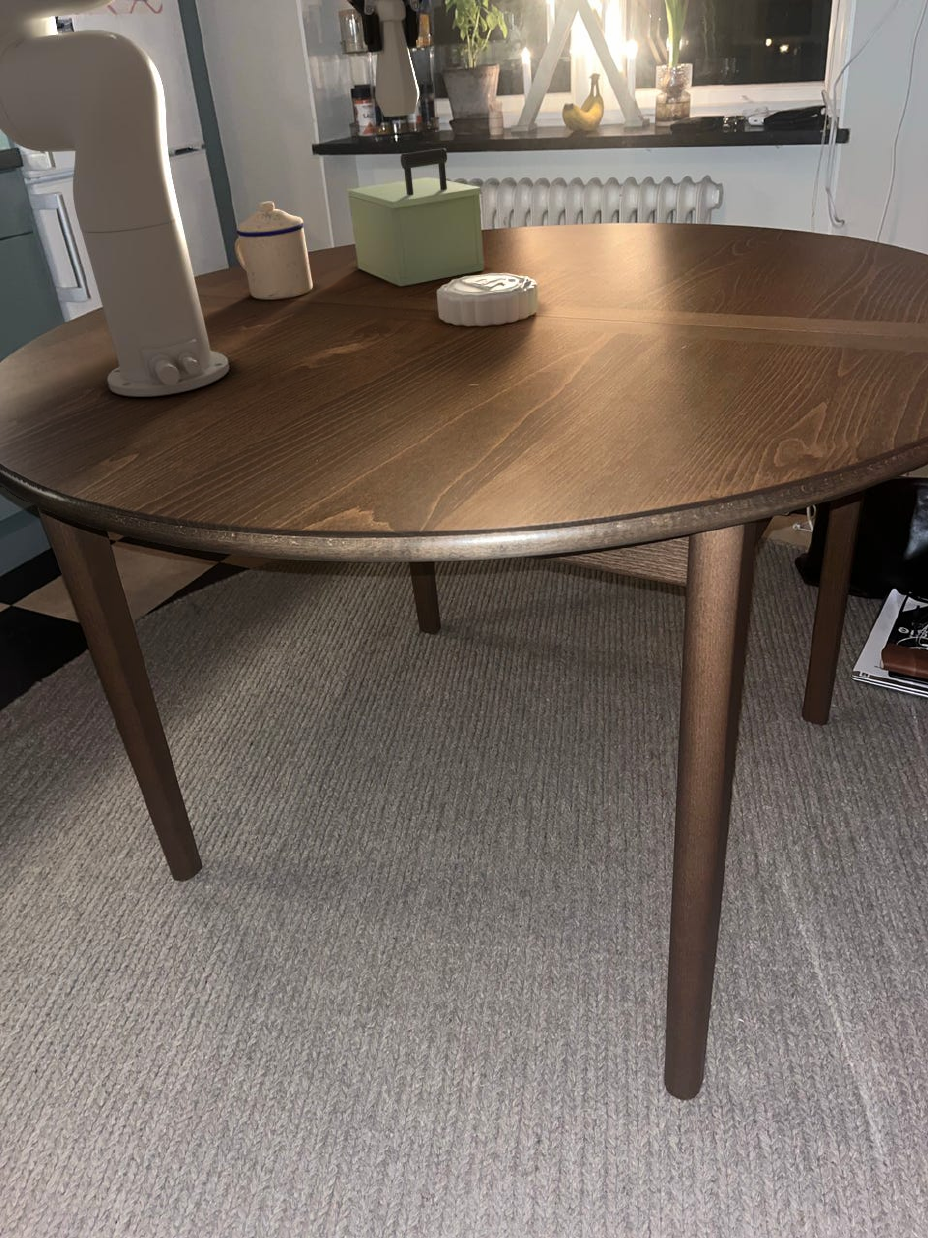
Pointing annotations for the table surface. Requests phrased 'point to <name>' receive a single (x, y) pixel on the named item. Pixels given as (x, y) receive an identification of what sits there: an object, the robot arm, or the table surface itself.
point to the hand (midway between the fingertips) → (392, 47)
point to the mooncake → (487, 299)
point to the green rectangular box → (418, 239)
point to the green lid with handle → (416, 184)
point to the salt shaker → (394, 63)
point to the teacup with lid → (274, 254)
